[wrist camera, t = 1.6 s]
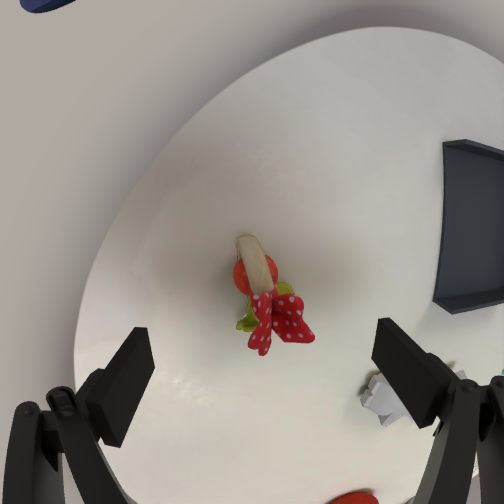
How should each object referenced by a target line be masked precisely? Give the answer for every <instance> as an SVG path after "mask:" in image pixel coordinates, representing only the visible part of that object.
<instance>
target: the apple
mask: <svg viewBox="0 0 504 504" xmlns="http://www.w3.org/2000/svg"><path fill="white" fill-rule="evenodd" d="M331 504H379V503H378V500H377V499H376V497H374V496H373V495H371V494H368V493H362V492H356V493H351V494H348V495H345V496H343V497H340V498H339V499H337V500H335V501H333V502H332V503H331Z"/></svg>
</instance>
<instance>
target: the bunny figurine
mask: <svg viewBox="0 0 504 504" xmlns="http://www.w3.org/2000/svg"><path fill="white" fill-rule="evenodd" d="M455 374H456V375H457V376H458V377H459V378H460V379H461V380H462V379H467V378H466V375H465V372H464V371H463V370H462V371H459V372H457V373H455ZM368 387H369V389H366V390H365V392H364V393H363V395H362V397H361V399H360V400H361V403H362V406H363V407H367V408H368V409H370V410H371V411H373V412H374V413H376V414H378V417H379V420H380V422H381V425H383V426H388V425H390V424H391V423H393V422H394V421H395V420H397V419H398V418H400V417H402V416H403V415H405V416H407V417H408V418H410V419H413V418H412V417H411V415H410V414H409V412H408V411H407V409H406V408H405V406H404V405H403V403H402V402H401V400H400V399H399V397H398V396H397V395H396V393H395V392H394V390H393V389H392V387H391V386H390V384H389V383H388V381H387V380H386V379H385V377H384V376H383V374H382V373H380V374H379V375H373V377H372V378H371V380H370V382H369V384H368ZM437 417H438V416H437Z"/></svg>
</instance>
